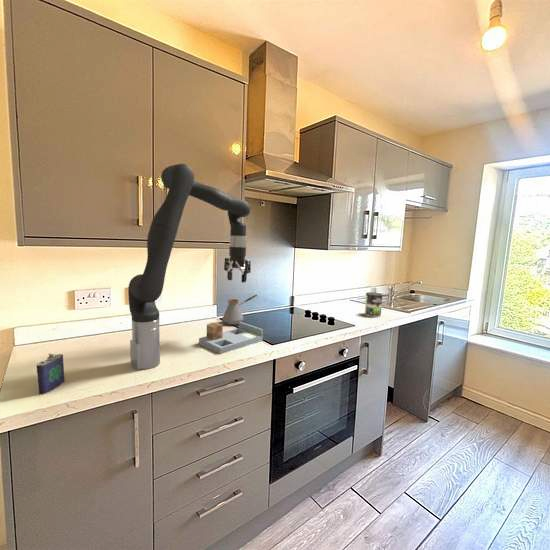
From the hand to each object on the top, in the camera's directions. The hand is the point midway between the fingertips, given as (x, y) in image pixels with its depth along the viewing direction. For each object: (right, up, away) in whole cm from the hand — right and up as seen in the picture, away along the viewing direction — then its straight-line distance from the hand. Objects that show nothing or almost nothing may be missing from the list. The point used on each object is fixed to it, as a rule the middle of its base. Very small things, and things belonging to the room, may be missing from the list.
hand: (236, 281), depth 139 cm
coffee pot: (-2, -24, +31) cm, 39 cm away
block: (-10, -25, -4) cm, 27 cm away
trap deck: (-2, -28, -1) cm, 28 cm away
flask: (-51, -32, -46) cm, 76 cm away
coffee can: (+81, -23, +57) cm, 102 cm away
